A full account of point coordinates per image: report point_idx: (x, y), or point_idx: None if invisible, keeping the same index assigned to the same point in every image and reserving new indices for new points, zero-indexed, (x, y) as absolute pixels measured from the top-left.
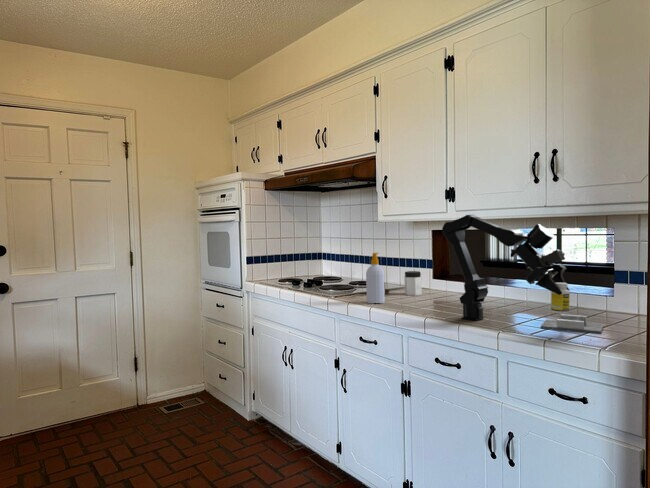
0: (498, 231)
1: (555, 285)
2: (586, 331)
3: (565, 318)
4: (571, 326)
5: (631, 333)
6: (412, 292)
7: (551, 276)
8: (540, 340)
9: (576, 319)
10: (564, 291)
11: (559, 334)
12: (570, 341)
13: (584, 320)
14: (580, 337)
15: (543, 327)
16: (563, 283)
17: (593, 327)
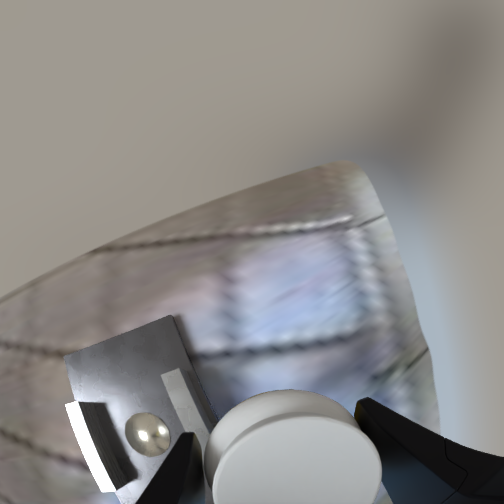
0: None
1: (433, 432)
2: (189, 359)
3: (113, 471)
4: (203, 411)
5: (107, 262)
6: None
7: (501, 484)
8: (420, 371)
9: (97, 434)
10: (325, 403)
11: None
12: (359, 316)
13: (87, 407)
14: (283, 332)
15: None
16: (304, 454)
17: (128, 360)
